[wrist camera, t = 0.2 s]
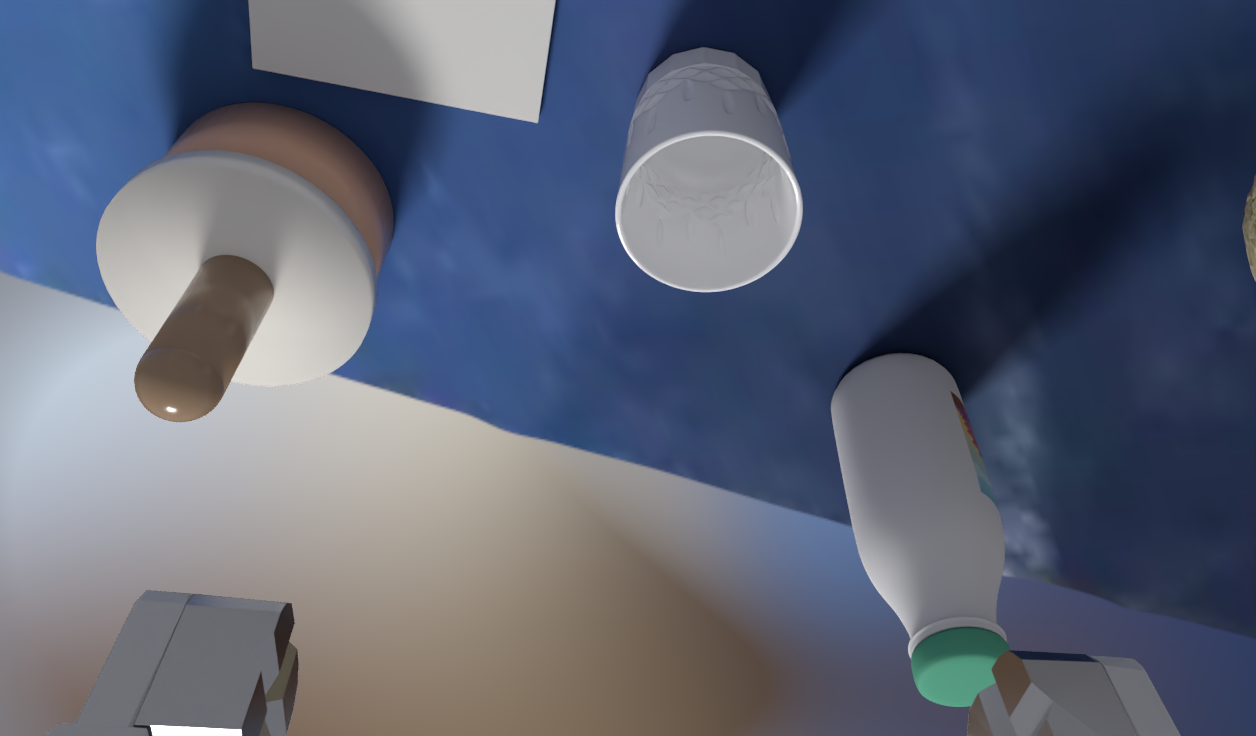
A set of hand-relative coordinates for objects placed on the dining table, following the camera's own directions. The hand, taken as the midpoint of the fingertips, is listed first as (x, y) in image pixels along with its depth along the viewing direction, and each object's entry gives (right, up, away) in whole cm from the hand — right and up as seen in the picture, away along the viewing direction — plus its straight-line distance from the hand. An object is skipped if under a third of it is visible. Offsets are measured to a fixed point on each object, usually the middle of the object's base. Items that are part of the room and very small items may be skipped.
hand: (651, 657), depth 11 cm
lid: (-19, +8, +37) cm, 43 cm away
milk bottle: (+16, +2, +49) cm, 52 cm away
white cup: (+3, +16, +38) cm, 41 cm away
